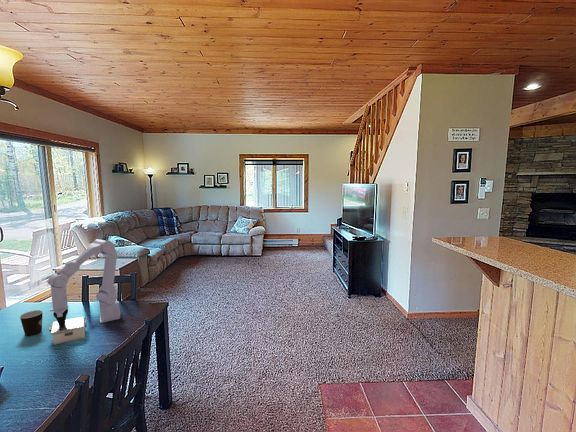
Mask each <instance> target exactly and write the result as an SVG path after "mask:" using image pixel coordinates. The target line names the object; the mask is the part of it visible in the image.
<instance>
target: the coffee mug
mask: <svg viewBox="0 0 576 432" xmlns="http://www.w3.org/2000/svg"><path fill="white" fill-rule="evenodd" d="M43 314H44V313H43V310H40V309H39V310H38V309H36V310H30V311H26V312H24V313H22V314H21V315H19V319H20V324H21V326H22V328H23V333H24V336H25V337H34V336H37V335H40V334H41V333H42V332H43Z"/></svg>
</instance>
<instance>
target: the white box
mask: <svg viewBox="0 0 576 432" xmlns="http://www.w3.org/2000/svg"><path fill="white" fill-rule="evenodd" d="M85 328H87V316H86V317H85V316H84V328H81V329H76V330H71V331H66V332H61V333H56V334H52V343H53V346H55V345H59V344H64V343H68V342H73V341H77V340H79V339H84V338H86V337H85V335H86V334H85V332H86V331H85Z"/></svg>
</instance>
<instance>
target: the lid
mask: <svg viewBox="0 0 576 432" xmlns="http://www.w3.org/2000/svg"><path fill="white" fill-rule="evenodd" d="M84 318H85V316H78V317H77V316H76V317H73V318H66V321H65V325H64V326H59V324H58V321H57V320H56V321H53V322H52V324H51V325H49V329H48V332H50V333H51V335H53V334H56V333H61V332H66V331H71V330H76V329H81V328H84V327H85V324H84Z"/></svg>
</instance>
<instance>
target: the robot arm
mask: <svg viewBox="0 0 576 432" xmlns="http://www.w3.org/2000/svg"><path fill="white" fill-rule="evenodd" d="M100 254H102V256H104V265H103V266H104V267H103V273H102V283H101V286H100V287H99V288H98V292H97V293H96V296H95V298H96V300H97V301H98V303H99V304H98V305H99V314H100V315H99V322H100V324H102V323H107V322H111V321H114V320H119V319H121V308H120V301H119V300H117V299H118V294H117V289H116V286H114V284H115V277H116V275H115V274H116V267H117V266H116V265H117V258H118V252H117V250H116V245H115V243H113V242H112V241H111V240H104V239H101V238H97V239H95V240H93V242H91V243H90V244H89V245H88V247H87V248H86V249H85V250H84V251H83V252H82V253H81V254H80V255H79V256H78V257H77V258H75V260H73V261H69V262H66V263H65V264H64V266H63V267H62V268H61V269H59V270H57V271H56V273H53V274H51V275H49V278H48V279H47V281H46V282H47V284H48V285H49V286H50V292H51V293H50V294H51V295H50V296H51V302H52V308H50V309H49V311H50V312H53V314H52V315H53V317H54V318H55V319H56V321H58V324H59V326H64V325H65V321H66V319H67V316H68V313H69V305H68V304H69V303H68V296H67V295H68V294H67V285H68V282H69V279H70V278H72V277H73V276H74V275H75V274H76V273H77V272H78V271H80V268H81V265H83V264H84V263H85V262H86V261H88V260H89V259H90V258H91V257H93V256H94V255H100Z"/></svg>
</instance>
